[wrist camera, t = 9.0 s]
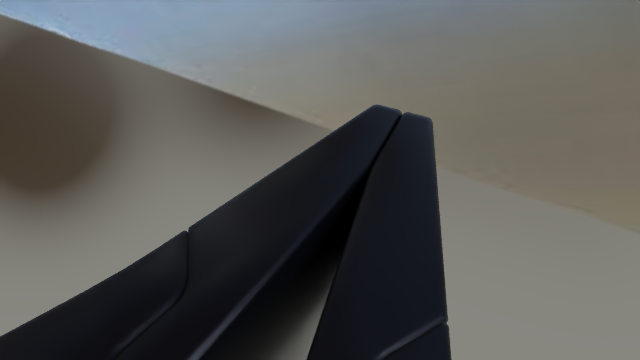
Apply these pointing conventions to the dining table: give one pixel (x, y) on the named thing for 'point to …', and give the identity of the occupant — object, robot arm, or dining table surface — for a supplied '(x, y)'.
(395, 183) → the robot arm
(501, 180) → the dining table surface
